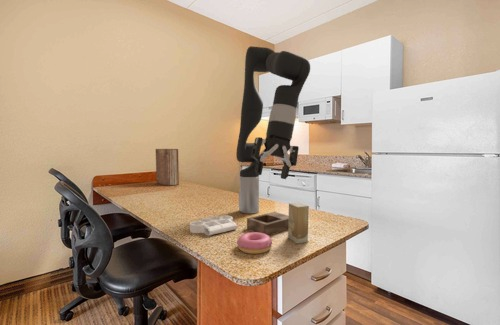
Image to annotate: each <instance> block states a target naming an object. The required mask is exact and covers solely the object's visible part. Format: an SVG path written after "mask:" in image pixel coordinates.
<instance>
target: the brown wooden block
mask: <svg viewBox="0 0 500 325" xmlns="http://www.w3.org/2000/svg"><path fill="white" fill-rule="evenodd" d="M179 165H180V163H179V148H155V171H156V172H155V174H156V175H155V176H156V178H155V179H156V184H158V185H159V184H160V185H163V186H167V187H170V186H174V185H175V186H176V185H177V186H180V172H179V171H180V170H179V168H180V167H179Z"/></svg>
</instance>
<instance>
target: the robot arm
mask: <svg viewBox="0 0 500 325" xmlns="http://www.w3.org/2000/svg"><path fill="white" fill-rule="evenodd" d="M245 52H246V53H245V60H244V62H245V63H244V82H243V84H244V85H243V86H244V87H243V94H242V103H241V111H240V124H239V126H240V127H239V134H238V139H237V145H236V160H237V161H238V162H239V163H250V165H249V166H248V167H245V168H242V169H241V170H239V191H238V211H239V212H240V213H243V214H256V213H258V212H259V211H260V176H262V173H263V168H264V164H265V163H264V161H265V160H266V159H267V158H268V157H270V156H271V157H276V158H279V159H280V161H281V162H282V167H281V173H280V179H282V180H287V178H288V177H289V174H290V168H291V167H295V166H297V164H298V163H297V162H298V156H299V155H298V154H299V146H298V145H291V140H292V138H293V132H294V128H295V122H296V116H297V109H298V108H297V107H298V102H299V98H300V97H299V96H300V94H301V91H302V89H303V88H304V85H305V83H306V81H307V79H308V77H309V75H310V72H311V63H310V61H309V59H307V58H306V57H304V56H301V55H298V54H295V53H293V52H291V51H287V50H281V51H277V52H276V51H274V50H273V49H271V48H269V47H263V46H262V47H261V46H249V47H248V48H247V49H246V51H245ZM255 72H256V73H271V74H272V75H275V76H278V77H280V78H284V79H286V80H289V81H292V82H291V84H281V85H278V86H276V89H275V90H274V96H273V102H272V106H271V110H270V113H269V117H268V118H269V119H268V123H267V128H266V133H265V138H262V137H255V138H254V142H247V141H248V138H249V137H250V135H251V133H252V132H253V131H254V130H255V129H256V128H257V126H258V125H259V123H260V122H261V120H262V116H263V110H264V102H263V100H262V97H261V95H260V93H259V91H258V89H257V87H256V82H255V77H254V74H255ZM263 145H264V149H263V150H262V151H261V148H262V146H263Z"/></svg>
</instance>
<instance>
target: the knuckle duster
mask: <svg viewBox="0 0 500 325" xmlns="http://www.w3.org/2000/svg"><path fill="white" fill-rule="evenodd" d="M237 229H238V225H237V223H236V222H235V221H234V218H233V216H231V215H228V214H226V215H219V216H209V217H203V218H200V219H198V220H194V221H190V223H189V232H190V233H192V234H204V235H206V236H208V237H210V236H213V235H217V234H221V233H225V232H229V231H235V230H237Z"/></svg>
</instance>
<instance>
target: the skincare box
mask: <svg viewBox="0 0 500 325" xmlns="http://www.w3.org/2000/svg"><path fill="white" fill-rule="evenodd" d="M309 209H310V206H308V205H306V204H304V203H303V202H299V201H298V202H297V201H296V202H288V216H289V220H288V230H287V237H288V239H290V240H291V241H293V242H294V243H296V244H302V243H308V242H309V215H310V214H309V212H310V211H309Z"/></svg>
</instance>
